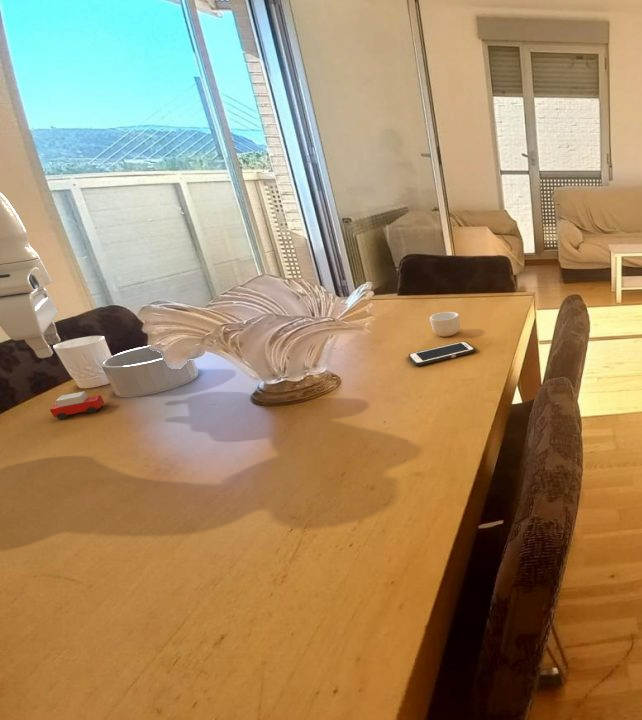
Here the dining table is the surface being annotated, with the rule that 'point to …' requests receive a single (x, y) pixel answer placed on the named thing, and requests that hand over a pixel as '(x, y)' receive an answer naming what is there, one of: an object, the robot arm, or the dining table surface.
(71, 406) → the toy car
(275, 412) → the dining table surface
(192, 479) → the dining table surface
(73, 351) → the white cup
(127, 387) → the gray bowl
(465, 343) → the cell phone
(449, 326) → the teacup
